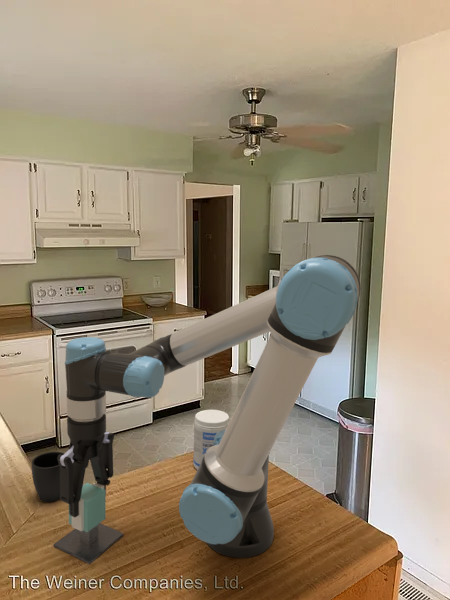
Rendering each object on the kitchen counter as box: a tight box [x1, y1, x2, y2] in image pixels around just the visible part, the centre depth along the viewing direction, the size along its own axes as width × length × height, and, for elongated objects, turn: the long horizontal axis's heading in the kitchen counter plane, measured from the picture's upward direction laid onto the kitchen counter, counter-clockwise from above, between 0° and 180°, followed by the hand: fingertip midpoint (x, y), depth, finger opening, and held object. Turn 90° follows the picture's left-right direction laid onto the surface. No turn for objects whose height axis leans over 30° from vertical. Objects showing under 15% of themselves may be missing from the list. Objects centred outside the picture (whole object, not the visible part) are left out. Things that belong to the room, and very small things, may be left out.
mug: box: [31, 451, 65, 503], centre depth 113 cm, size 8×12×10 cm
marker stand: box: [53, 522, 125, 565], centre depth 98 cm, size 10×10×6 cm
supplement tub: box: [192, 409, 230, 471], centre depth 129 cm, size 10×10×15 cm
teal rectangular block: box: [68, 482, 107, 532], centre depth 97 cm, size 5×5×7 cm
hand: (88, 520), depth 98 cm, fingers closed on teal rectangular block, 5 cm apart
